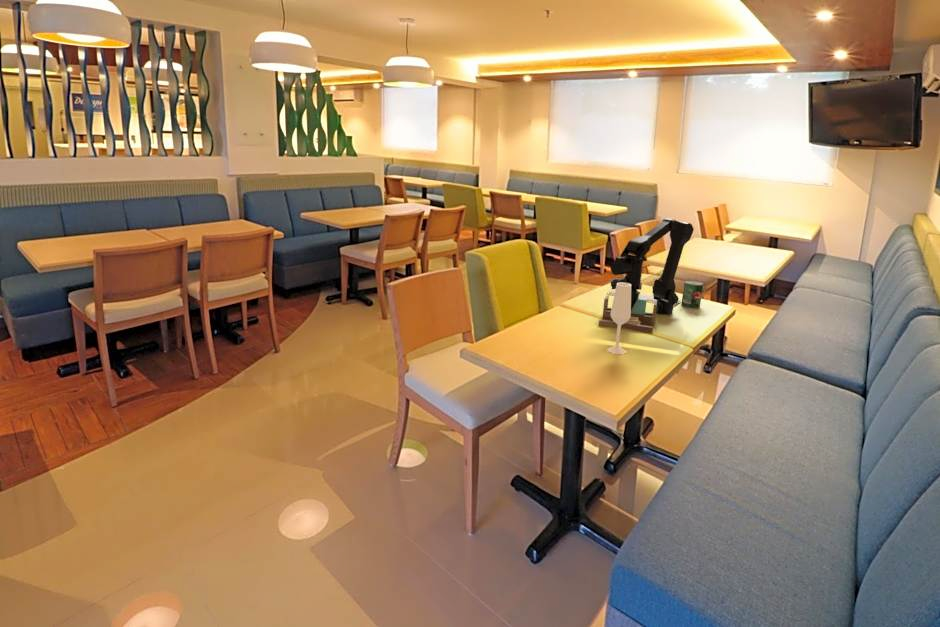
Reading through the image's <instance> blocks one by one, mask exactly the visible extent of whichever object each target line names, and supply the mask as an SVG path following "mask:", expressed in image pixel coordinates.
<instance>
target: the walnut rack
mask: <svg viewBox="0 0 940 627" xmlns="http://www.w3.org/2000/svg"><path fill="white" fill-rule="evenodd" d="M609 296H610V295H605V297H604V298H603V299H604V301H603V311H602V316H601V317H602V318H601V319H599V320H598V326H601V327H607V328H616V329H617V326H618V324H616V323H615V322H614V321H613V320H612V318H611V315H610V314H611V309H612V307H609V306H608V305H609V298H610V297H609ZM656 308H657V302H656V301H655V302H654V303H653V309H652V312H646V311H645V315H639V314H631V317H638V321H641V322H640V325H636V324H629V323H624V324H622V325H621V329H622V330H630V331H635V332H636V331H637V332H643V333H651V334H652V333H653V332H654V327H655V326H654V325H655V322H656V314H657V313H656Z"/></svg>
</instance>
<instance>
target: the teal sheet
mask: <svg viewBox="0 0 940 627" xmlns="http://www.w3.org/2000/svg"><path fill="white" fill-rule="evenodd" d="M647 303H648V302H647V299H642V298H638V299H637V301H636V303H635V304H634V306H633V308H632V310H631V314H639V315H645V312H646V310H647Z"/></svg>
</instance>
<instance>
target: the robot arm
mask: <svg viewBox="0 0 940 627" xmlns="http://www.w3.org/2000/svg"><path fill="white" fill-rule="evenodd" d="M661 220H662V221H661V222H659V223H658V224H657V225H655V226H654V227H653V228H651V229H650V230H649V231H647V232H646V233H645V234H643V235H641V236H637V237H634V238H632V239H630V240H629V241H628V242H627V244H626V246H625V247H624V249H623V250H622V252H621V253H620V254H619V255H620V256H616V257H615V258H614V260H612V261H611V264H610V265H609V267H610V272H611V274H613V275H614V276H619V275H620V276H621V275H624V276H623V277H618V278H617V277H616V278H613V279H611V280H610V286H611V290H615V289H616V285H617V283H621V282H622V283H629V284H631V310H632V308H633V306H634V304H635V303H636V301H637V299H638V297H639V294H640V293H641V290H642V286H643V284H642V282H641V281H642V275H643V264H644V262H647V261H648V258H646V257H645V255H646V254H648V252H650V250H651V247H652V245H654V244H655V243H656V242H658V241H659V240H660V239H662V238H663V237H664V236H666V235H667V234H668V233H669V238H670V242H671V243H670V246H669V249H668V254H667V256H666V260H665V263H664V267H663V269H662V270H663V271H662V273H661V276H659V278H658V279H657V278H656V279H654V282H653V286H652V288H651V289H652V291H651V292H652V295H653V296H654V299H655V300H657V308H656V314H657V315H664V316H667V315H668V316H669V315H671V314H672V315H673V313H674V312H673V311H674V307H673V305H674V304H675V303H677V302H678V300H680V299H679V297H678V295H677V293H676V282H675V276H676V274H677V270H678V266H679V263H680V260H681V256H682V254H683V249H684V246H685V245H686V244H687V243H689V241H690V240H691V238H692V235H693V233H694V226H693V224H692V223H691V222H684V221H680V220H675V219H673V218H667V217H666V218H664V219H661ZM638 290H639V291H638Z"/></svg>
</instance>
